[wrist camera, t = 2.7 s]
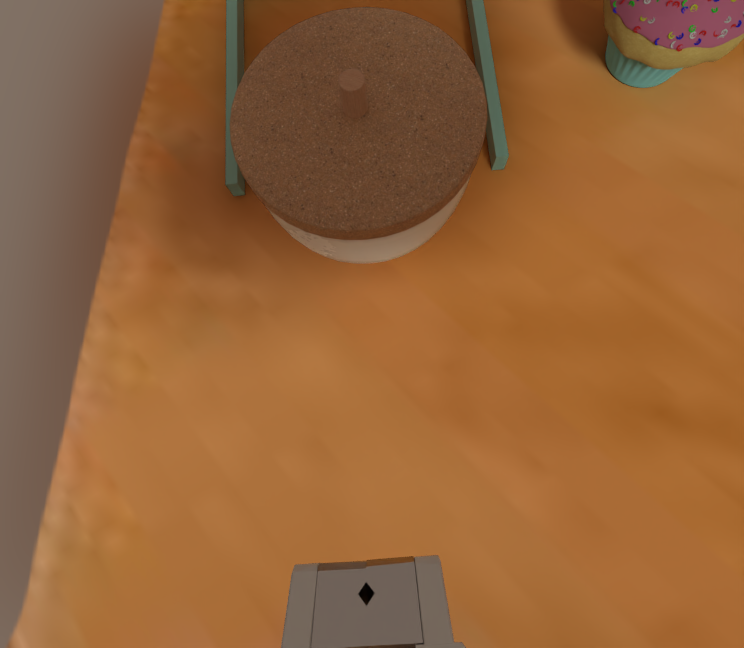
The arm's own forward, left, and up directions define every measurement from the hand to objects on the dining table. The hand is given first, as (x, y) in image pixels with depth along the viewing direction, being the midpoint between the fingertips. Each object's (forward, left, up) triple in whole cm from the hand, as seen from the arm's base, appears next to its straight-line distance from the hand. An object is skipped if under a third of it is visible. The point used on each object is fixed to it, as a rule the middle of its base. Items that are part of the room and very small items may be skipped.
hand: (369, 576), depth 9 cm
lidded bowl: (-12, -14, -18) cm, 25 cm away
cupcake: (-33, -8, -18) cm, 38 cm away
